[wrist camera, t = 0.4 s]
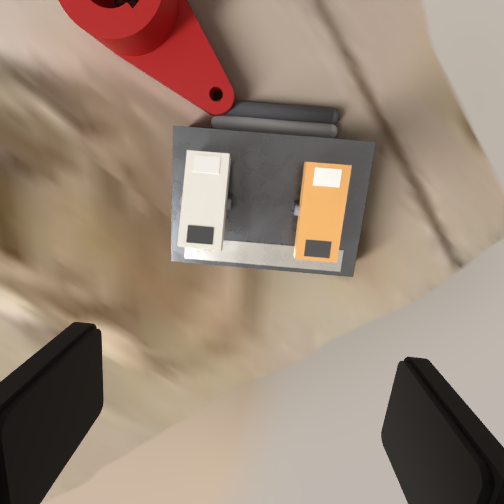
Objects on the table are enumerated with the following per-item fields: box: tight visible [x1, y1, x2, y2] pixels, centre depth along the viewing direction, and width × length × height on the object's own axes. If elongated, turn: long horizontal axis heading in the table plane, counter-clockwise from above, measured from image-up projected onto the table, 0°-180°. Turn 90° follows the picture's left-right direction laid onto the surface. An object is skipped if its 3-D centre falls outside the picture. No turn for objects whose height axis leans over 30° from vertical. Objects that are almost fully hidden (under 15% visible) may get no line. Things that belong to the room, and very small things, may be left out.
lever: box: [59, 0, 236, 116], centre depth 30 cm, size 18×9×7 cm, turn 44°
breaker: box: [177, 150, 231, 251], centre depth 30 cm, size 9×5×2 cm, turn 176°
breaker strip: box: [171, 126, 376, 277], centre depth 34 cm, size 14×20×6 cm
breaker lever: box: [294, 162, 352, 263], centre depth 30 cm, size 9×5×2 cm, turn 175°
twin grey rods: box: [211, 99, 340, 138], centre depth 34 cm, size 3×14×2 cm, turn 86°
